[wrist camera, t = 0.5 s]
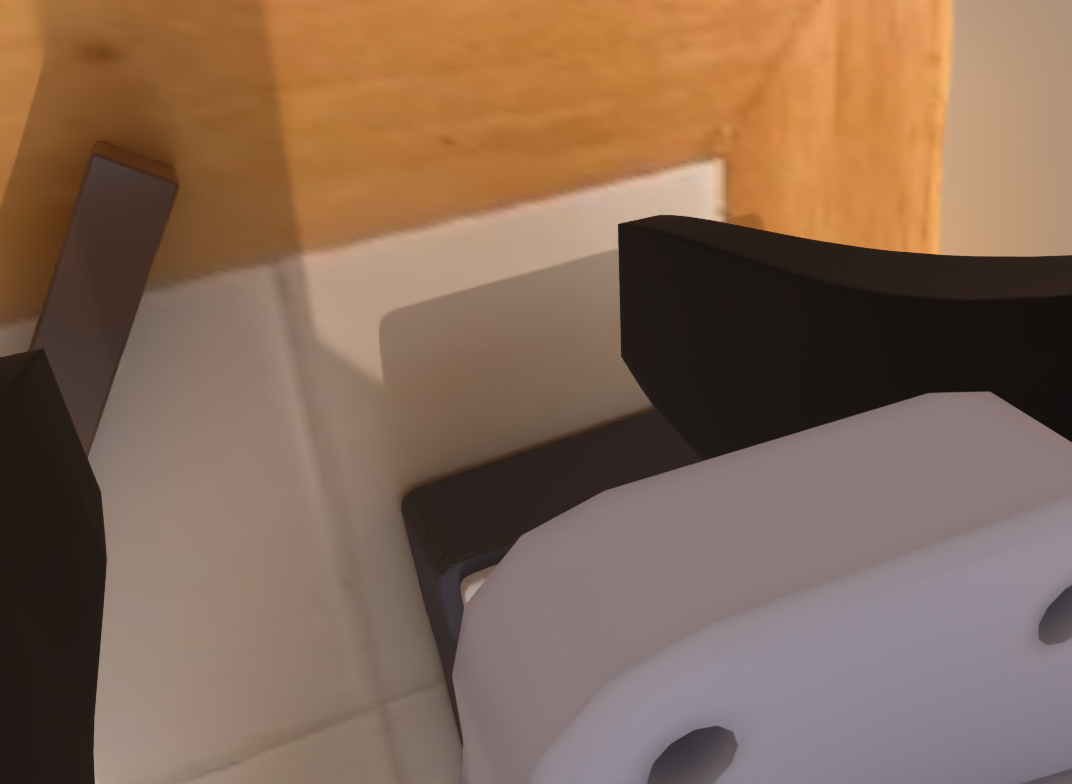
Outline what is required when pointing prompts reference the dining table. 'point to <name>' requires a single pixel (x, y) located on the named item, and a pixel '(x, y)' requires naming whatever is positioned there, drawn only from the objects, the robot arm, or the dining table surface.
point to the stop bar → (102, 277)
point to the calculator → (519, 510)
